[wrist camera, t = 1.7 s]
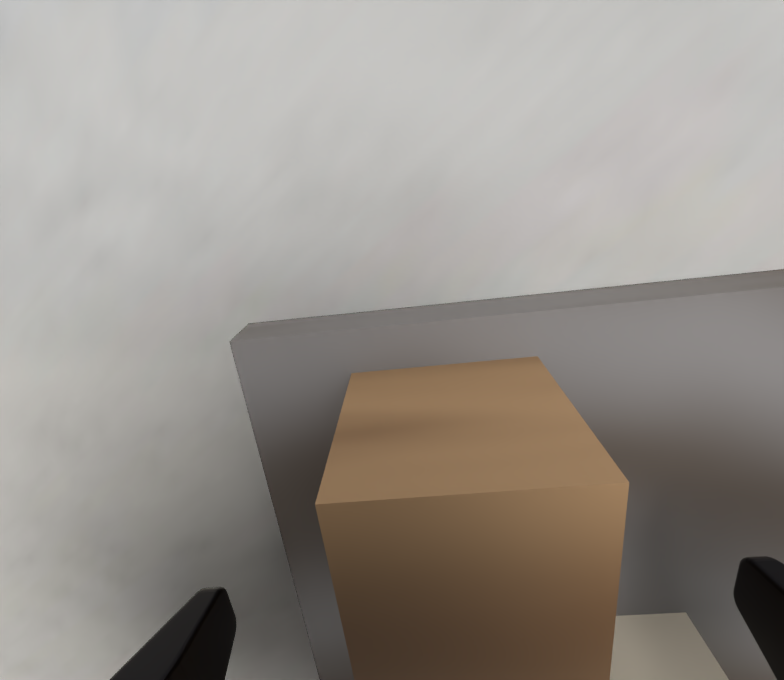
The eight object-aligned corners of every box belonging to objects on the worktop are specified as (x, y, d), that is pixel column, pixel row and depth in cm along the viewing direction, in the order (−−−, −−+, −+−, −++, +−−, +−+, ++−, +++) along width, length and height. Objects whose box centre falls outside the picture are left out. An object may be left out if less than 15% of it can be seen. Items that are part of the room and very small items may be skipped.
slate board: (786, 834, 18) (812, 878, 16) (376, 839, 19) (374, 881, 18) (1024, 244, 9) (1110, 254, 8) (249, 323, 10) (229, 341, 9)
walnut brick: (536, 566, 11) (601, 762, 7) (384, 575, 11) (373, 768, 8) (537, 356, 9) (629, 481, 5) (351, 372, 9) (315, 504, 6)
